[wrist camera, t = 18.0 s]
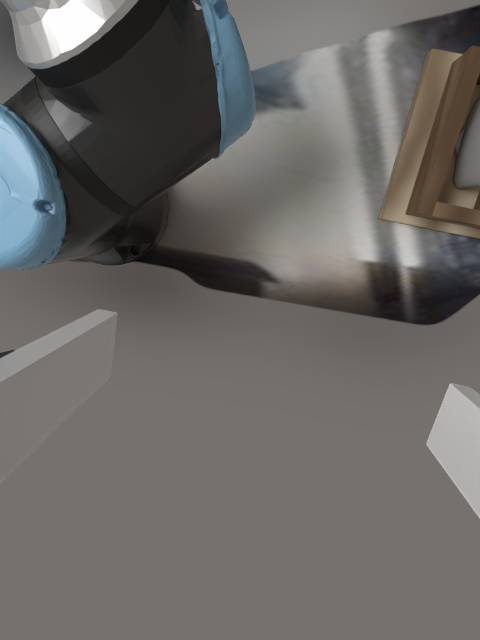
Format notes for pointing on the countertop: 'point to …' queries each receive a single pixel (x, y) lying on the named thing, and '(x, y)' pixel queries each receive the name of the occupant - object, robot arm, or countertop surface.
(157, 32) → the robot arm
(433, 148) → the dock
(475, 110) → the tall pale column
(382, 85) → the countertop surface
